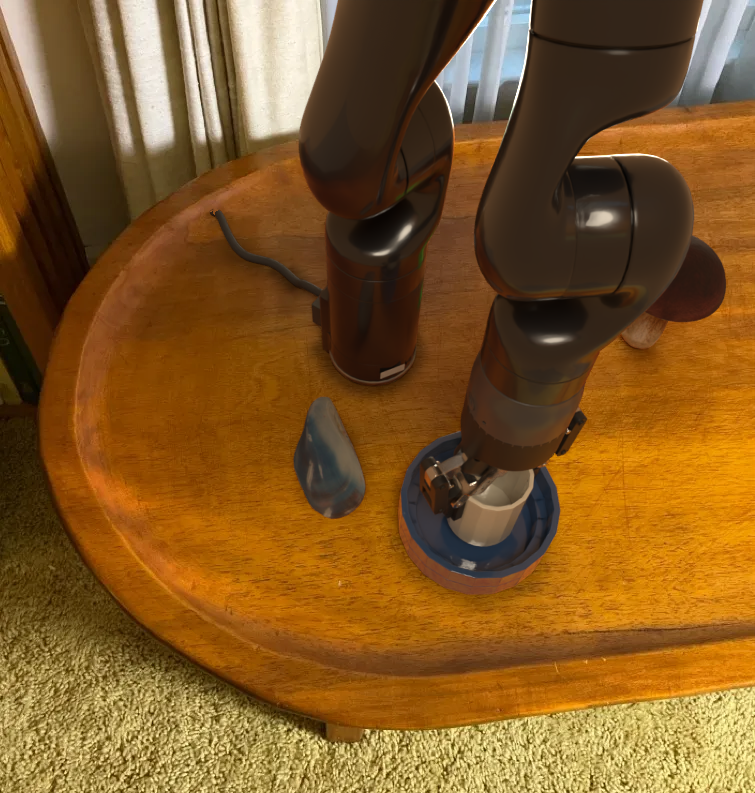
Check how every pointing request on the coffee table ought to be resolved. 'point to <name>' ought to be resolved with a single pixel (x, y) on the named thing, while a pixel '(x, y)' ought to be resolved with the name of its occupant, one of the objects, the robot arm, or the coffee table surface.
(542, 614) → the coffee table surface
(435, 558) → the bowl
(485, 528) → the cup
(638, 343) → the decorative mushroom
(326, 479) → the seashell
